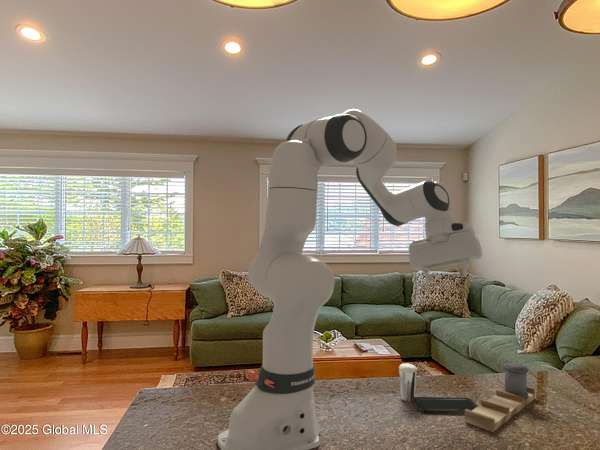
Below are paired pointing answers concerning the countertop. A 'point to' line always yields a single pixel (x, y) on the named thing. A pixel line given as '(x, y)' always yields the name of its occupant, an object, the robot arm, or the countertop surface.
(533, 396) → the organizer
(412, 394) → the milkshake
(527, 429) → the countertop surface
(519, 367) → the spool
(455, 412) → the phone
